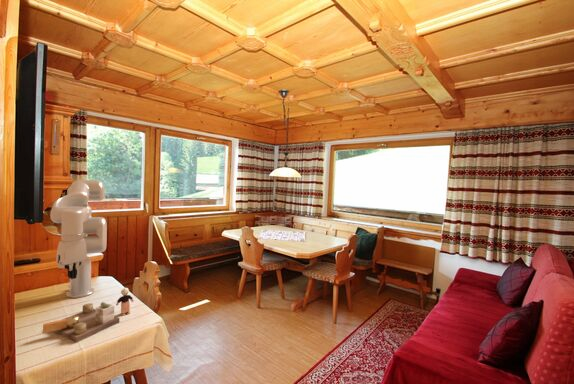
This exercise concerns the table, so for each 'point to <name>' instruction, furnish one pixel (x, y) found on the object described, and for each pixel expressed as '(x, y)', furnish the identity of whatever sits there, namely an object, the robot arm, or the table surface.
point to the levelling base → (90, 322)
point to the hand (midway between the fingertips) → (72, 277)
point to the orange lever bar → (61, 324)
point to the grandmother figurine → (125, 302)
